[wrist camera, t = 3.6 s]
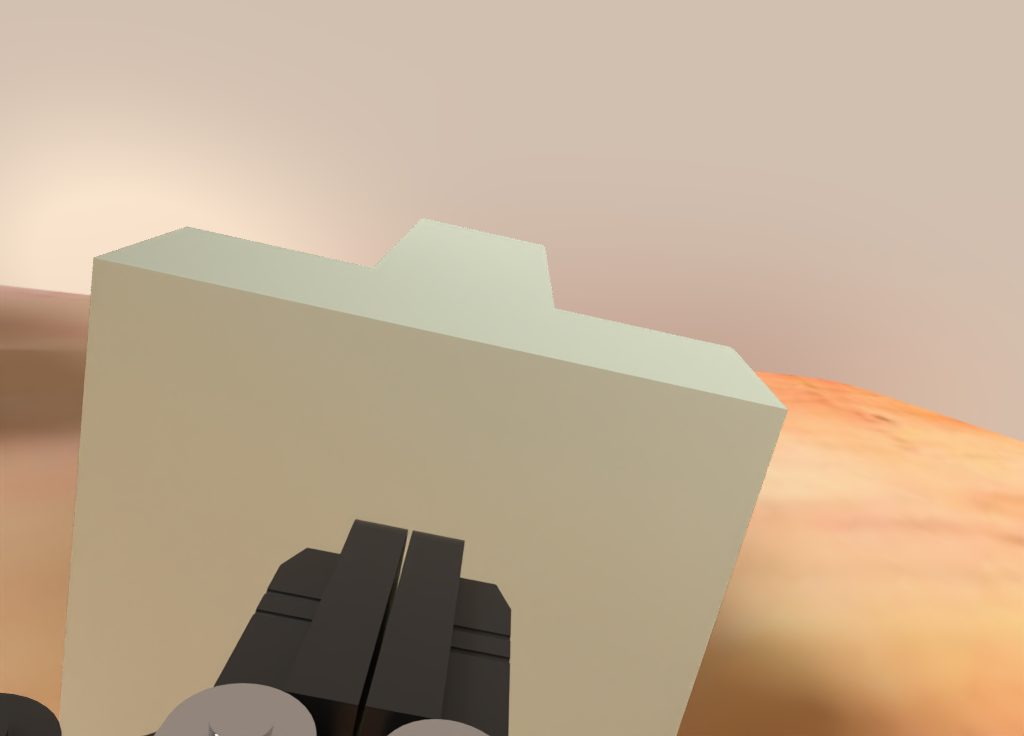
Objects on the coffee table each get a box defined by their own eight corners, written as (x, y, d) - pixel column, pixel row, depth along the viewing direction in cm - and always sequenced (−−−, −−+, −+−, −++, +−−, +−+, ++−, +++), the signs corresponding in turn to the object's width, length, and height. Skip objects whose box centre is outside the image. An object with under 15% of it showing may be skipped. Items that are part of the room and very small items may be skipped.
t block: (636, 851, 17) (787, 409, 14) (57, 742, 17) (93, 257, 14) (589, 543, 30) (665, 272, 27) (256, 473, 29) (297, 189, 26)
